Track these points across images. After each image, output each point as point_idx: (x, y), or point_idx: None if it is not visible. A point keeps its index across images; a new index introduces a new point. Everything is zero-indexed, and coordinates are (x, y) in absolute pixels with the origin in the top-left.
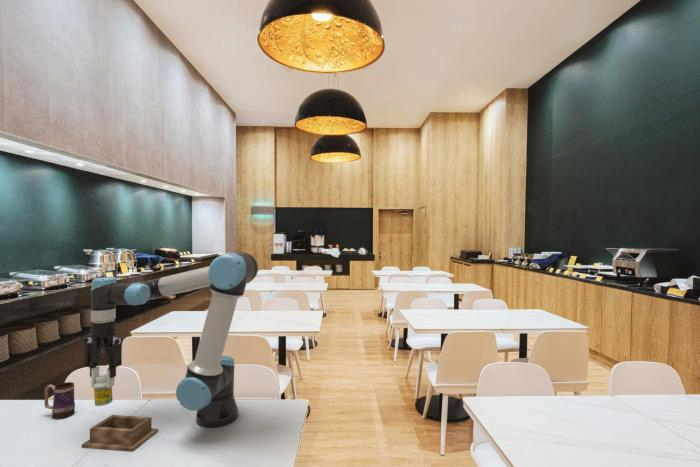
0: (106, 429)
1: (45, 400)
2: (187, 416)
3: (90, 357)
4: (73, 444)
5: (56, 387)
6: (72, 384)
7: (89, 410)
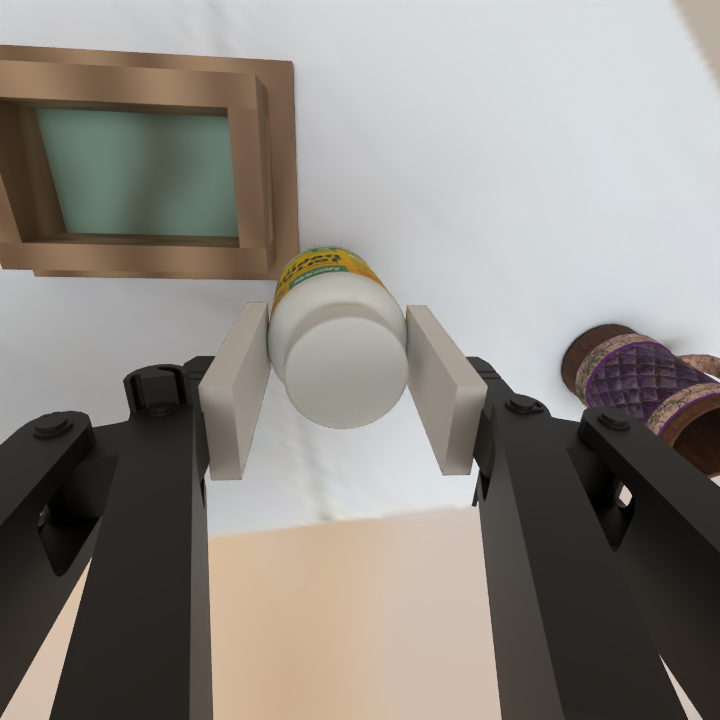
0: (134, 71)
1: None
2: None
3: (636, 548)
4: (361, 97)
5: None
6: None
7: None
